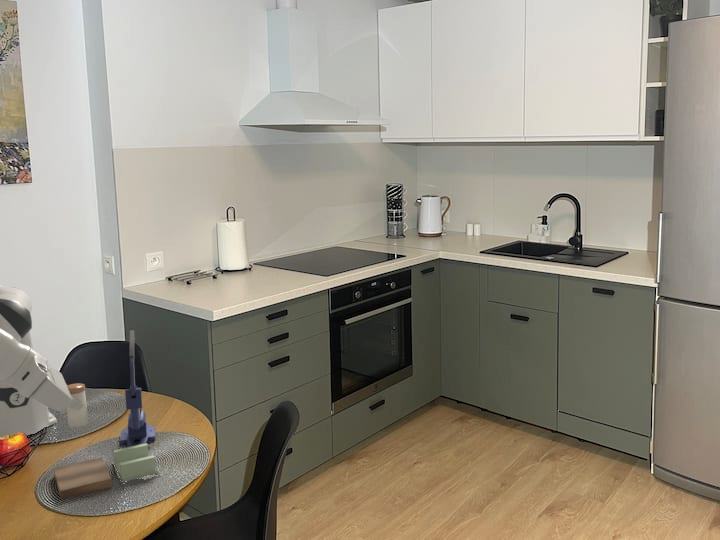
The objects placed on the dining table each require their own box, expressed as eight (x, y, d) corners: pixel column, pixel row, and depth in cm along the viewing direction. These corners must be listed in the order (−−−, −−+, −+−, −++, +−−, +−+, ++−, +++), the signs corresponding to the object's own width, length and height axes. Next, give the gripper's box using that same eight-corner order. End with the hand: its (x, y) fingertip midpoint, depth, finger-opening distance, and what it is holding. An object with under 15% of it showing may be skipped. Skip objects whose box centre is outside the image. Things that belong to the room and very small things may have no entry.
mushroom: (66, 422, 159) (62, 385, 157) (86, 418, 161) (83, 382, 159) (69, 429, 155) (65, 392, 153) (90, 424, 157) (86, 388, 155)
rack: (114, 464, 169) (112, 449, 168) (146, 456, 173) (145, 442, 172) (122, 482, 161) (121, 466, 160) (156, 473, 164) (155, 458, 164)
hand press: (155, 453, 176) (148, 349, 170) (119, 457, 173) (111, 352, 168) (155, 423, 193) (148, 328, 188) (122, 427, 191) (115, 331, 185)
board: (54, 477, 163) (53, 468, 163) (102, 466, 169) (102, 457, 168) (61, 501, 153) (60, 491, 153) (112, 488, 159) (111, 478, 158)
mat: (110, 462, 171) (110, 461, 170) (147, 454, 175) (147, 453, 175) (122, 488, 159) (122, 486, 159) (161, 478, 163) (161, 476, 163)
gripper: (14, 368, 158) (63, 398, 165) (21, 397, 141) (76, 430, 148) (33, 346, 160) (81, 377, 166) (42, 372, 142) (96, 406, 149)
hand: (79, 402), depth 157 cm, fingers closed on mushroom, 4 cm apart
